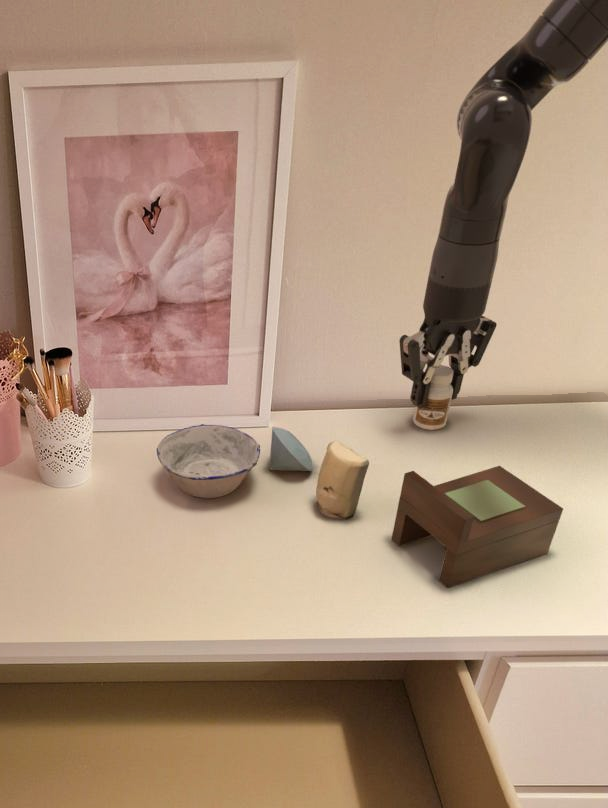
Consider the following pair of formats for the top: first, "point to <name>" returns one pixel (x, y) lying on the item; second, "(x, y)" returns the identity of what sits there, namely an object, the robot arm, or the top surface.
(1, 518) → the top surface
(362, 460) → the beige rounded block
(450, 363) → the robot arm
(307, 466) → the gemstone
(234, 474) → the bowl
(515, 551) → the shelf
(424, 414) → the pill bottle
